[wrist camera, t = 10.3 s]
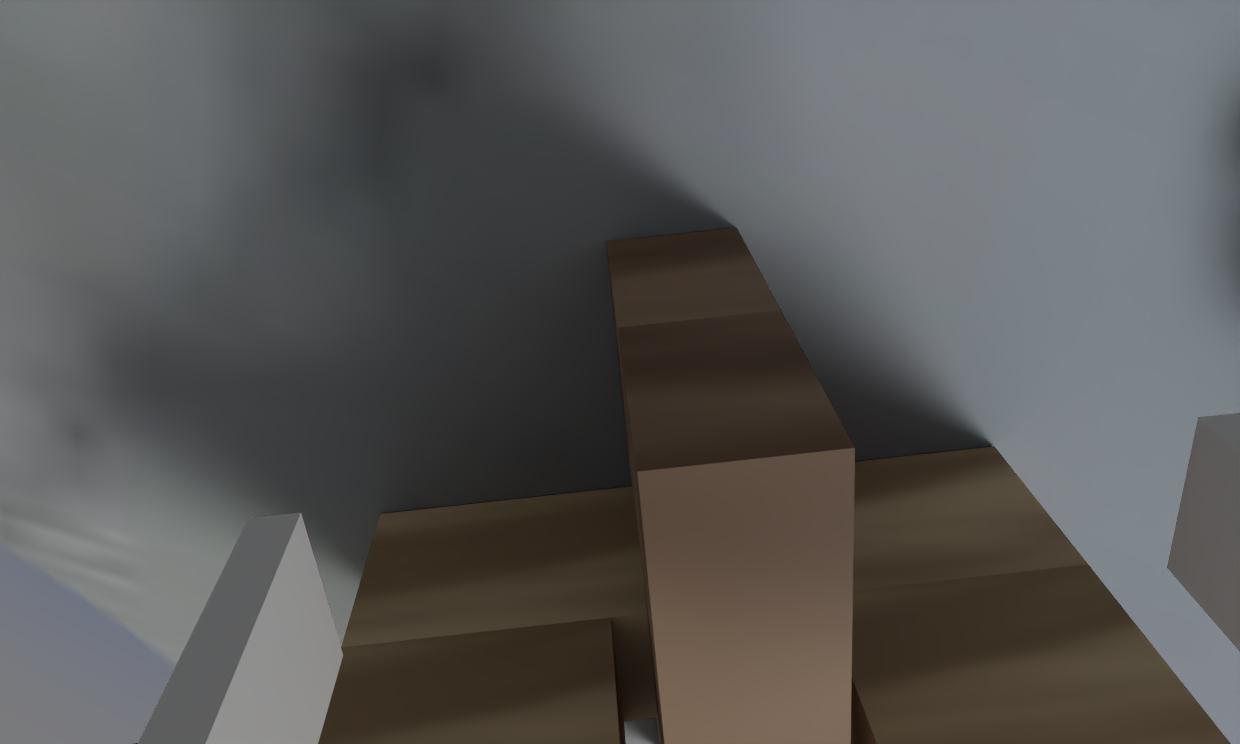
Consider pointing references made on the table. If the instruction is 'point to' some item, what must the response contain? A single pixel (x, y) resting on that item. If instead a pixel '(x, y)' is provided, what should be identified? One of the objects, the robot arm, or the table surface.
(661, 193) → the table surface
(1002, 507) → the oak board
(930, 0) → the table surface
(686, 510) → the walnut plate
